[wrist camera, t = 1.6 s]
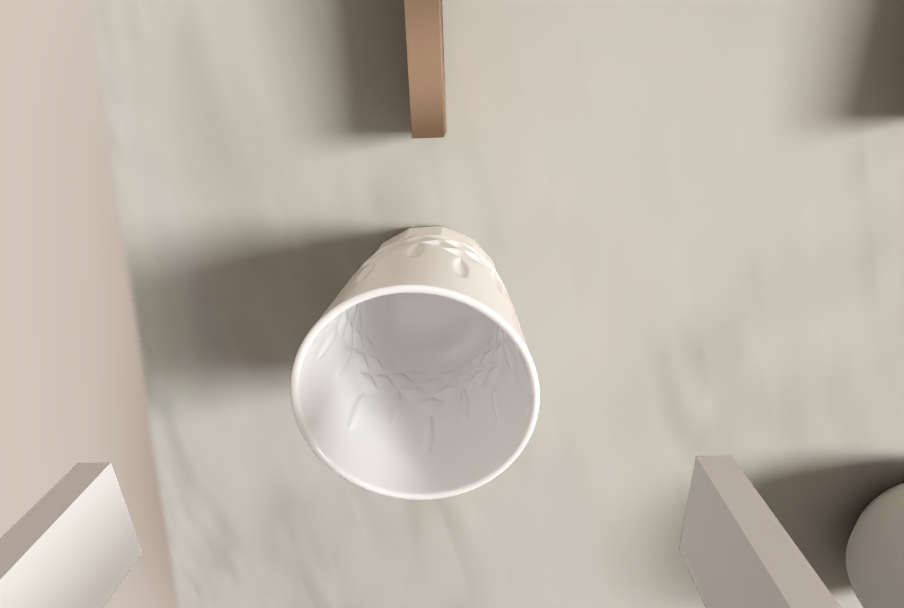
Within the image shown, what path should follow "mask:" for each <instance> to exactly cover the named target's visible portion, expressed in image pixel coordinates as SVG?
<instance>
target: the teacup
mask: <svg viewBox="0 0 904 608" xmlns="http://www.w3.org/2000/svg"><path fill="white" fill-rule="evenodd" d="M846 568H847V573H848V577H849V580H850V583H851V586H852V588H853V590H854V592H855V594H856V596H857V598H858V599H859V601H860V603H861V604H862V606H863V607H864V608H904V483H901V484H899V485H897V486H894V487H892V488H890V489H888V490H886V491H885V492H883V493H882V494H880V495H879V496H878V497H876V498H875V499H874V500H873V501H872V502H871V503H870V504H869V505H868V506H867V507H866V508H865V509H864V510H863V512H862V513H861V515H860V516H859V518H858V520H857V522H856V525H855V526H854V528H853V531H852V533H851V535H850V537H849V540H848V544H847V550H846Z"/></svg>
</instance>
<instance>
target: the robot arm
mask: <svg viewBox="0 0 904 608" xmlns="http://www.w3.org/2000/svg"><path fill="white" fill-rule="evenodd" d="M679 550H680V553H681V555H682V557H683V559H684V561H685V563H686V566H687V568H688V570H689V572H690V574H691V576H692V579H693V581H694V583H695V585H696V587H697V589H698V592H699V594H700V596H701V598H702V600H703V602H704V605H705V607H706V608H841V607H840V605H839V604H838V602H837V601H836V600H835V598H834V597H833V596H832V594H831V593H830V591H829V590H828V589H827V587H826V586H825V584H824V583H823V582H822V580H821V579H820V578H819V576H818V575H817V573H816V572H815V571H814V569H813V568H812V566H811V565H810V564H809V562H808V561H807V560H806V558H805V557H804V555H803V554H802V553H801V551H800V550H799V548H798V547H797V546H796V544H795V543H794V542H793V540H792V539H791V537H790V536H789V535H788V533H787V532H786V530H785V529H784V528H783V526H782V525H781V524H780V522H779V521H778V519H777V518H776V517H775V515H774V514H773V512H772V511H771V510H770V508H769V507H768V506H767V504H766V503H765V501H764V500H763V499H762V497H761V496H760V494H759V493H758V492H757V490H756V489H755V488H754V486H753V485H752V483H751V482H750V481H749V479H748V478H747V476H746V475H745V474H744V472H743V471H742V470H741V468H740V467H739V465H738V464H737V463H736V461H735V460H734V458H733V457H732V456H696V459H695V464H694V470H693V475H692V481H691V486H690V492H689V497H688V503H687V508H686V514H685V519H684V525H683V530H682V536H681V541H680V547H679ZM141 554H142V549H141V546H140V544H139V541H138V538H137V535H136V533H135V529H134V527H133V524H132V521H131V518H130V515H129V513H128V510H127V507H126V504H125V501H124V498H123V495H122V493H121V490H120V487H119V484H118V482H117V478H116V476H115V473H114V470H113V467H112V465H111V463H78V464H77V465H75V467H73V468H72V469H71V470H70V471H69V473H67V474H66V475H65V476H64V477H63V478H62V479H61V480H60V481H59V482H58V483H57V484H56V485H55V486H54V487H53V488H52V489H51V490H50V491H49V492H48V493H47V494H46V495H45V496H44V497H43V498H42V499H40V501H39V502H38V503H36V504H35V505H34V506H33V507H32V508H31V509H30V510H29V511H28V512H27V513H26V514H25V515H24V516H23V517H22V518H21V519H20V520H19V521H18V522H17V523H16V524H15V525H14V526H13V527H12V528H11V529H10V530H9V531H8V532H7V533H6V534H4V535H3V536H2V538H0V608H104V607H105V605H106V604H107V603H108V601H109V600H110V598H111V597H112V595H113V594H114V592H115V591H116V590H117V588H118V587H119V585H120V584H121V582H122V581H123V579H124V578H125V577H126V575H127V574H128V572H129V571H130V569H131V568H132V567H133V565H134V564H135V562H136V561H137V559H138V558H139V556H140V555H141Z"/></svg>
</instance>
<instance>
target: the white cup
mask: <svg viewBox="0 0 904 608" xmlns="http://www.w3.org/2000/svg"><path fill="white" fill-rule="evenodd" d="M290 396H291V404H292V409H293V413H294V416H295V419H296V422H297V425H298V427H299V429H300V431H301V433H302V435H303V437H304V439H305V440H306V442H307V443H308V445H309V446H310V448H311V449H312V450H313V451H314V453H315V454H316V455H317V456H318V457H319V458H320V459H321V460H322V461H323V462H324V463H325V464H326V465H327V466H328V467H329V468H330V469H332V470H333V471H334V472H335V473H337V474H338V475H340V476H341V477H343V478H344V479H346V480H347V481H349V482H351V483H353V484H355V485H357V486H359V487H361V488H363V489H366V490H368V491H371V492H374V493H377V494H381V495H384V496H389V497H394V498H400V499H410V500H430V499H439V498H446V497H450V496H455V495H458V494H462V493H465V492H467V491H470V490H473V489H475V488H477V487H479V486H481V485H483V484H485V483H487V482H488V481H490V480H492V479H493V478H495V477H496V476H498V475H499V474H500V473H502V472H503V471H504V470H505V469H506V468H507V467H508V466H509V465H510V464H512V462H513V461H514V460H515V459H516V458H517V457H518V456H519V454H520V453H521V452H522V450H523V449H524V447H525V446H526V444H527V442H528V441H529V439H530V437H531V435H532V432H533V430H534V427H535V424H536V421H537V416H538V411H539V403H540V389H539V381H538V376H537V372H536V368H535V365H534V362H533V359H532V357H531V354H530V351H529V349H528V346H527V343H526V340H525V338H524V335H523V332H522V329H521V326H520V323H519V321H518V318H517V315H516V312H515V309H514V307H513V305H512V302H511V300H510V298H509V296H508V293H507V291H506V289H505V286H504V284H503V282H502V280H501V279H500V277H499V275H498V274H497V272H496V269H495V265H494V262H493V261H492V259H491V258H490V257H489V256H488V255H487V254H486V253H485V252H484V251H483V249H482V248H481V247H480V246H479V245H478V244H477V243H476V242H475V241H474V240H473V238H471V237H468V236H466V235H464V234H461V233H459V232H456V231H454V230H451V229H449V228H446V227H444V226H431V227H413V228H409V229H407V230H405V231H403V232H401V233H400V234H398V235H396V236H394V237H392V238H391V239H389V240H387V241H385V242H383V243H382V244H381V246H380V247H379V248H378V250H377V251H376V253H375V254H373V255H372V256H371V257H370V258H369V259H368V260H367V261H366V262H365V263H364V264H363V265H362V266H361V267H360V268H359V269H358V271H357V272H356V273H355V274H354V275H353V276H352V277H351V278H350V280H349V281H348V282H347V284H346V285H345V286H344V287H343V289H342V290H341V291H340V293H339V294H338V295H337V297H336V298H335V299H334V300H333V302H332V303H331V304H330V306H329V307H328V308H327V310H326V311H325V312H324V313H323V315H322V316H321V317H320V318H319V320H318V321H317V322H316V323H315V325H314V326H313V327H312V329H311V330H310V331H309V332H308V334H307V335H306V337H305V338H304V340H303V342H302V344H301V346H300V348H299V350H298V352H297V355H296V357H295V360H294V364H293V368H292V373H291V381H290Z"/></svg>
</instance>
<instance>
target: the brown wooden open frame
mask: <svg viewBox="0 0 904 608" xmlns="http://www.w3.org/2000/svg"><path fill="white" fill-rule="evenodd" d="M404 10H405V27H406V44H407V61H408V78H409V96H410V113H411V130H412V138H436V137H444V136H445V133H446V104H445V75H444V46H443V18H442V0H404Z"/></svg>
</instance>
